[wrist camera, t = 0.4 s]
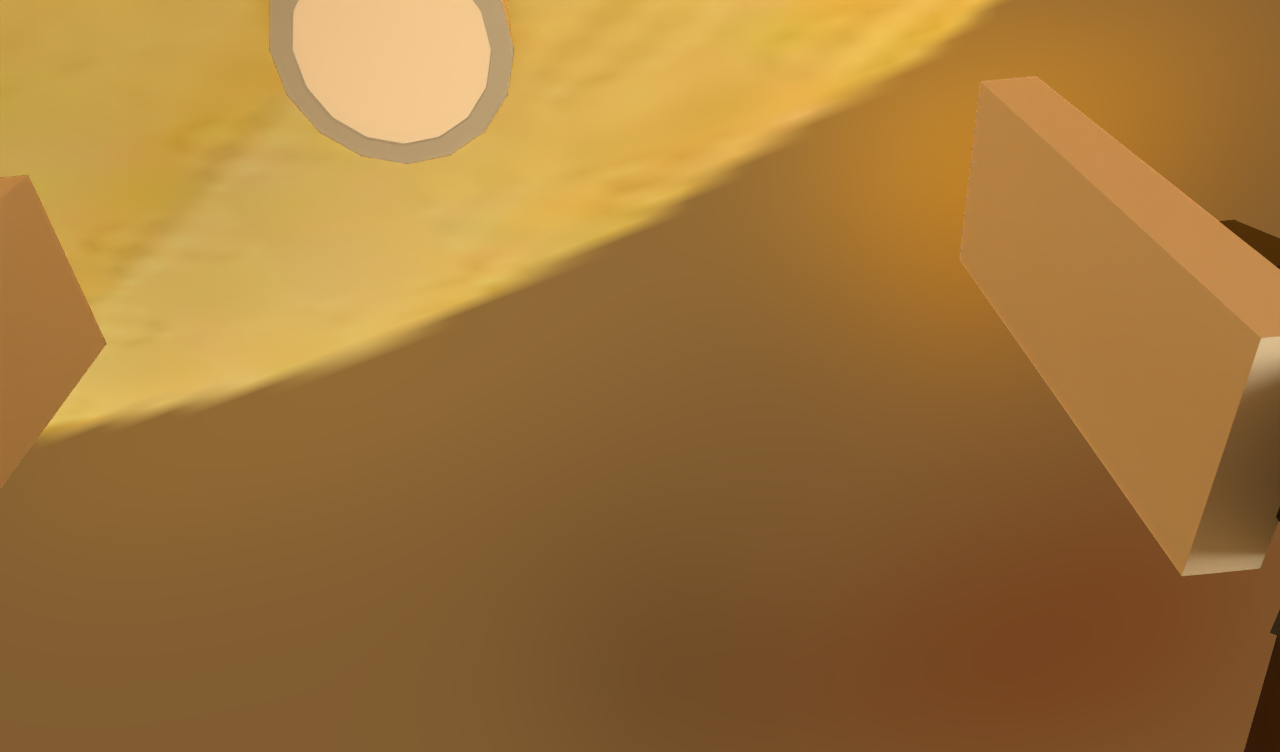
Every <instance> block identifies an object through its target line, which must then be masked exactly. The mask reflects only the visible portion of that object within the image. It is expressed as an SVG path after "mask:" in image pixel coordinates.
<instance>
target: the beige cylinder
mask: <svg viewBox="0 0 1280 752" xmlns="http://www.w3.org/2000/svg"><path fill="white" fill-rule="evenodd" d="M269 51H270V53H271V56H272V58H273V61H274V63H275V66H276V68H277V71H278V73H279V76H280V79H281V81H282V84H283V86H284V89H285V91H286V94H287V96H288V97H289V98H290V99H291V100H292V102H293V103H294V104H295V105H296V106H297V107H298V108H299V110H300V111H301V112H302V113H303V114H304V115H305V116H306V117H307V119H308V120H309V121H310V122H311V123H312V124H313V125H314V127H315V128H316V129H317V130H318V131H319V132H320V133H322V134H323V135H325V136H327V137H329V138H330V139H332V140H334V141H336V142H337V143H339V144H341V145H343V146H344V147H346V148H348V149H350V150H351V151H353V152H355V153H357V154H359V155H360V156H364V157H369V158H375V159H381V160H386V161H392V162H398V163H403V164H409V163H414V162H419V161H424V160H429V159H435V158H440V157H445V156H449V155H451V154H452V153H454V152H455V151H457V150H458V149H460V148H461V147H463V146H464V145H466V144H467V143H469V142H470V141H472V140H473V139H475V138H476V137H478V136H479V135H481V134H482V133H484V132H485V130H486V129H487V127H488V125H489V124H490V122H491V121H492V119H493V117H494V116H495V114H496V113H497V111H498V109H499V108H500V106H501V105H502V103H503V101H504V100H505V98H506V97H507V94H508V87H509V81H510V74H511V67H512V60H513V53H514V48H513V42H512V36H511V30H510V24H509V18H508V12H507V7H506V1H505V0H270V10H269Z"/></svg>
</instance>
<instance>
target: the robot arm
mask: <svg viewBox="0 0 1280 752" xmlns="http://www.w3.org/2000/svg"><path fill="white" fill-rule="evenodd" d="M959 260H960V261H961V262H962V264H963V265H964V267H965V268H966V270H967V271H968V273H969V274H970V275H971V277H972V278H973V280H974V281H975V283H976V284H977V285H978V287H979V288H980V290H981V291H982V293H983V294H984V295H985V297H986V298H987V300H988V301H989V302H990V304H991V305H992V307H993V308H994V309H995V311H996V312H997V314H998V315H999V317H1000V318H1001V319H1002V321H1003V322H1004V324H1005V325H1006V327H1007V328H1008V330H1009V331H1010V332H1011V334H1012V335H1013V337H1014V338H1015V339H1016V341H1017V342H1018V344H1019V345H1020V347H1021V348H1022V349H1023V351H1024V352H1025V354H1026V355H1027V356H1028V358H1029V359H1030V361H1031V362H1032V364H1033V365H1034V366H1035V368H1036V369H1037V371H1038V372H1039V374H1040V375H1041V376H1042V378H1043V379H1044V380H1045V382H1046V384H1047V385H1048V386H1049V388H1050V389H1051V391H1052V392H1053V394H1054V395H1055V396H1056V398H1057V399H1058V401H1059V402H1060V404H1061V405H1062V406H1063V408H1064V409H1065V411H1066V412H1067V413H1068V415H1069V416H1070V418H1071V419H1072V421H1073V422H1074V423H1075V425H1076V426H1077V427H1078V429H1079V431H1080V432H1081V433H1082V435H1083V436H1084V438H1085V439H1086V440H1087V442H1088V443H1089V445H1090V446H1091V448H1092V449H1093V450H1094V452H1095V453H1096V455H1097V456H1098V458H1099V459H1100V460H1101V462H1102V463H1103V465H1104V466H1105V468H1106V469H1107V470H1108V472H1109V473H1110V475H1111V476H1112V477H1113V479H1114V480H1115V482H1116V483H1117V485H1118V486H1119V487H1120V489H1121V490H1122V492H1123V493H1124V494H1125V496H1126V497H1127V499H1128V500H1129V502H1130V503H1131V505H1132V506H1133V507H1134V509H1135V510H1136V512H1137V513H1138V514H1139V516H1140V517H1141V519H1142V520H1143V521H1144V523H1145V524H1146V526H1147V527H1148V529H1149V530H1150V532H1151V533H1152V534H1153V536H1154V537H1155V539H1156V540H1157V542H1158V543H1159V544H1160V546H1161V547H1162V549H1163V550H1164V551H1165V553H1166V554H1167V556H1168V557H1169V559H1170V560H1171V561H1172V563H1173V564H1174V566H1175V567H1176V568H1177V570H1178V571H1179V573H1180V574H1181V576H1188V575H1199V574H1209V573H1219V572H1229V571H1239V570H1249V569H1258V568H1260V567H1261V565H1262V562H1263V559H1264V557H1265V554H1266V552H1267V549H1268V547H1269V544H1270V542H1271V539H1272V537H1273V534H1274V531H1275V529H1276V526H1277V524H1278V521H1280V239H1279V238H1277V237H1275V236H1272V235H1270V234H1267V233H1265V232H1262V231H1260V230H1257V229H1255V228H1253V227H1250V226H1248V225H1245V224H1243V223H1240V222H1237V221H1236V220H1227V221H1218V220H1217V219H1215V218H1214V217H1213V216H1212V215H1210V214H1209V213H1208V212H1207V211H1205V210H1204V209H1203V208H1201V207H1200V206H1199V205H1198V204H1197V203H1195V202H1194V201H1193V200H1191V199H1190V198H1189V197H1188V196H1186V195H1185V194H1184V193H1183V192H1181V191H1180V190H1179V189H1177V188H1176V187H1175V186H1174V185H1173V184H1171V183H1170V182H1169V181H1168V180H1166V179H1165V178H1164V177H1162V176H1161V175H1160V174H1159V173H1157V172H1156V171H1155V170H1154V169H1152V168H1151V167H1150V166H1149V165H1147V164H1146V163H1145V162H1144V161H1142V160H1141V159H1140V158H1139V157H1137V156H1136V155H1135V154H1133V153H1132V152H1131V151H1130V150H1128V149H1127V148H1126V147H1125V146H1123V145H1122V144H1121V143H1120V142H1118V141H1117V140H1116V139H1115V138H1113V137H1112V136H1111V135H1110V134H1108V133H1107V132H1106V131H1105V130H1103V129H1102V128H1101V127H1099V126H1098V125H1097V124H1096V123H1094V122H1093V121H1092V120H1091V119H1089V118H1088V117H1087V116H1086V115H1084V114H1083V113H1082V112H1080V111H1079V110H1078V109H1077V108H1075V107H1074V106H1073V105H1072V104H1071V103H1069V102H1068V101H1066V100H1065V99H1064V98H1063V97H1062V96H1060V95H1059V94H1058V93H1057V92H1055V91H1054V90H1053V89H1052V88H1050V87H1049V86H1048V85H1047V84H1045V83H1044V82H1043V81H1041V80H1040V79H1039V78H1038V77H1036V76H1030V77H1020V78H1009V79H999V80H990V81H980V89H979V97H978V105H977V114H976V123H975V131H974V139H973V148H972V156H971V164H970V173H969V181H968V190H967V198H966V207H965V215H964V223H963V232H962V240H961V249H960V257H959ZM105 345H106V342H105V339H104V337H103V335H102V333H101V331H100V329H99V326H98V324H97V322H96V320H95V318H94V316H93V314H92V311H91V309H90V307H89V305H88V303H87V301H86V298H85V296H84V294H83V292H82V290H81V288H80V285H79V283H78V281H77V279H76V277H75V275H74V273H73V270H72V268H71V266H70V264H69V262H68V260H67V257H66V255H65V253H64V251H63V249H62V247H61V244H60V242H59V240H58V238H57V236H56V234H55V232H54V229H53V227H52V225H51V223H50V221H49V219H48V216H47V214H46V212H45V210H44V208H43V206H42V203H41V201H40V199H39V197H38V195H37V193H36V190H35V188H34V186H33V184H32V182H31V180H30V178H29V175H22V176H12V177H1V178H0V489H1V487H2V486H3V485H4V483H5V482H6V481H7V479H8V478H9V476H10V475H11V474H12V472H13V471H14V470H15V468H16V467H17V465H18V464H19V463H20V461H21V460H22V459H23V457H24V456H25V455H26V453H27V452H28V450H29V449H30V448H31V446H32V445H33V444H34V442H35V441H36V439H37V438H38V437H39V435H40V434H41V433H42V431H43V430H44V429H45V427H46V426H47V424H48V423H49V422H50V420H51V419H52V418H53V416H54V415H55V413H56V412H57V411H58V409H59V408H60V407H61V405H62V404H63V402H64V401H65V400H66V398H67V397H68V396H69V394H70V393H71V392H72V390H73V389H74V387H75V386H76V385H77V383H78V382H79V381H80V379H81V378H82V376H83V375H84V374H85V372H86V371H87V370H88V368H89V367H90V365H91V364H92V363H93V361H94V360H95V359H96V357H97V356H98V355H99V353H100V352H101V350H102V349H103V348H104V346H105ZM1270 633H1272V634H1275V635H1277V637H1276V641H1275V644H1274V648H1273V651H1272V655H1271V658H1270V662H1269V665H1268V669H1267V672H1266V676H1265V679H1264V683H1263V686H1262V690H1261V694H1260V697H1259V700H1258V704H1257V707H1256V711H1255V714H1254V718H1253V722H1252V725H1251V728H1250V732H1249V736H1248V739H1247V743H1246V746H1245V750H1244V752H1280V611H1279V613H1278V615H1277V618H1276V620H1275V622H1274V625H1273V627H1272V629H1271V632H1270Z"/></svg>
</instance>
